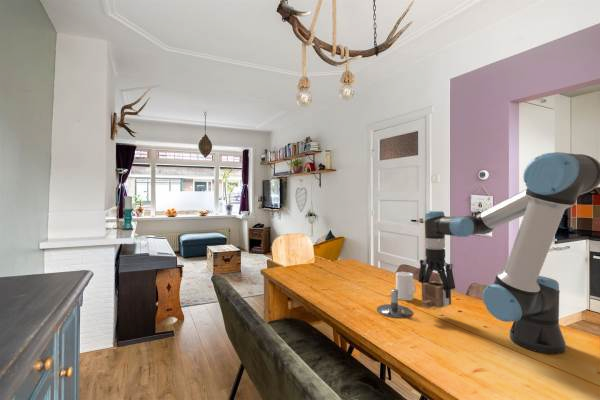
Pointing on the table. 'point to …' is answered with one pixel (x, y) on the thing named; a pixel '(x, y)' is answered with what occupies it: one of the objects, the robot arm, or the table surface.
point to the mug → (405, 285)
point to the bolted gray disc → (394, 307)
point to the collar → (433, 294)
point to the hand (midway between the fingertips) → (436, 302)
